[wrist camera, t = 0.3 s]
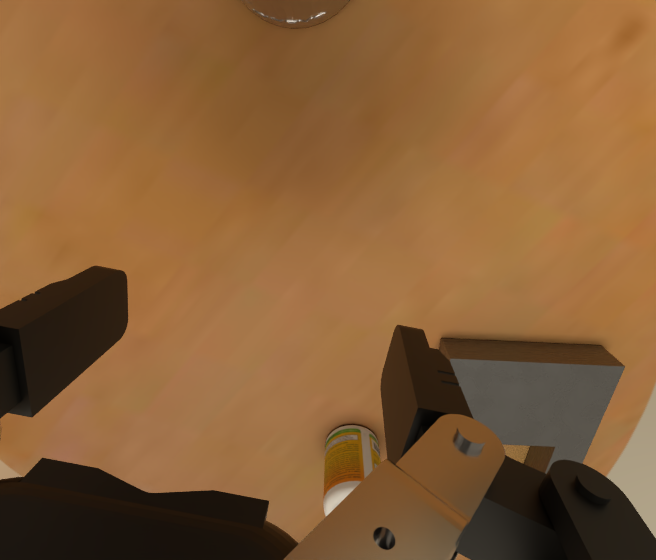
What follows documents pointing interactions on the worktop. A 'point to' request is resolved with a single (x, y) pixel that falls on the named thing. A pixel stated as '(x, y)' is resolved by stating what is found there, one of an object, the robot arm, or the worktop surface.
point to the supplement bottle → (347, 462)
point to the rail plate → (536, 393)
